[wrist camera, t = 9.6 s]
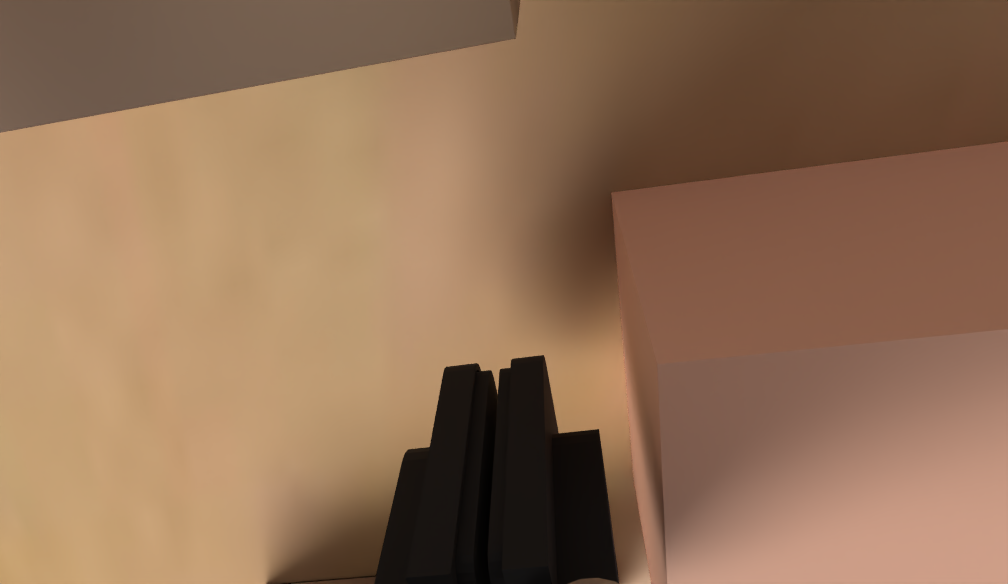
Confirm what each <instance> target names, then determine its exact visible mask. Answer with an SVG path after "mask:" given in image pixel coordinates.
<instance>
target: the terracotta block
mask: <svg viewBox="0 0 1008 584" xmlns="http://www.w3.org/2000/svg"><path fill="white" fill-rule="evenodd" d="M611 197H612V210H613V223H614V236H615V249H616V262H617V275H618V288H619V301H620V314H621V327H622V340H623V353H624V366H625V379H626V392H627V405H628V418H629V431H630V444H631V457H632V470H633V481H634V487H635V492H636V498H637V504H638V510H639V515H640V521H641V527H642V533H643V538H644V544H645V550H646V556H647V561H648V567H649V573H650V578H651V584H1008V141H1006V142H999V143H991V144H983V145H975V146H968V147H960V148H952V149H944V150H937V151H929V152H921V153H913V154H906V155H898V156H890V157H882V158H875V159H867V160H859V161H851V162H844V163H836V164H828V165H820V166H812V167H805V168H797V169H789V170H781V171H774V172H766V173H758V174H750V175H743V176H735V177H727V178H719V179H712V180H704V181H696V182H688V183H681V184H673V185H665V186H657V187H650V188H642V189H634V190H626V191H619V192H611Z"/></svg>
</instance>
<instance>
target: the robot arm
mask: <svg viewBox="0 0 1008 584" xmlns="http://www.w3.org/2000/svg"><path fill="white" fill-rule="evenodd" d="M374 584H619V579H618V571H617V563H616V555H615V547H614V539H613V532H612V524H611V516H610V508H609V501H608V493H607V485H606V478H605V470H604V463H603V456H602V448H601V441H600V434H599V429H597V430H588V431H578V432H569V433H558V427H557V422H556V416H555V411H554V405H553V400H552V394H551V388H550V383H549V377H548V372H547V366H546V361H545V357H544V355H541V356H533V357H525V358H516V359H512V360H511V368H506V369H500V373H499V387H498V394H497V390H496V386H495V381H494V377H493V374H492V371H491V370H489V371H481V369H480V366H479V364H477V363H475V364H467V365H459V366H450V367H446V368H445V369H444V373H443V378H442V384H441V389H440V395H439V400H438V405H437V411H436V416H435V422H434V427H433V432H432V438H431V443H430V447H428V448H418V449H409V450H407V451H406V453H405V455H404V458H403V461H402V465H401V469H400V473H399V478H398V482H397V487H396V491H395V495H394V500H393V504H392V508H391V513H390V517H389V522H388V526H387V530H386V535H385V539H384V543H383V548H382V552H381V556H380V561H379V565H378V570H377V574H376V578H375V583H374Z"/></svg>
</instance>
